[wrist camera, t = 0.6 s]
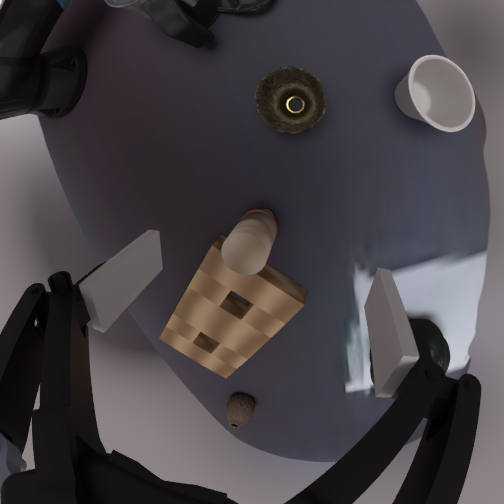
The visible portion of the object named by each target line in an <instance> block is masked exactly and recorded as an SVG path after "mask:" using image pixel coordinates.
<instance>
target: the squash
mask: <svg viewBox="0 0 504 504" xmlns="http://www.w3.org/2000/svg"><path fill="white" fill-rule="evenodd" d="M417 322H418V323H419V324H420V325H421V327H422V329H423V332H424V336H425V338H426V342H427V344H428V347H429V350H430V353H431V356H432V359H433V362H434V363H436V364H438V365H439V366H441V367H442V369H443V370H444V372H445V374H446V371H447V369H448V366H449V363H450V351H449V346H448V343H447V341H446V340H445V338H444V337H443V334H442V333H441V331H440V329H439V328H438V327H437V326H436V325H435V324H434V323H432V322H431V321H429V320H426V319H419V320H417ZM370 362H371V366H370V373H371V379H372V382H373V384H374V386H375V381H374V372H373V363H372V354H371V348H370ZM389 398H392V399H397V398H398V395H397V390H396V392H395V393H394V394H393V395H392V397H389Z"/></svg>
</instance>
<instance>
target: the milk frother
mask: <svg viewBox="0 0 504 504" xmlns="http://www.w3.org/2000/svg"><path fill="white" fill-rule="evenodd" d="M228 1H229V4H230V6H231V7H232V8H226V7H221V0H105V2H106V3H107V4H108V5H109V6H111V7H122V8H125V9H127V10H129V11H132V12H134V13H136V14H139V15H141V16H143V17H145V18H147V19H150V20H152V21H153V22H154V23H155V24H156V26H157V27H158V28H160V29H161V30H162V31H163V32H164V33H165V34H167V35H168V36H170V37H172V38H174V39H177V40H180V41H182V42H184V43H187V44H189V45H192V46H194V47H197V48H201V47H203V46H205V45H207V44H208V43H210V42H212V41H213V40H214V35H213V34H212V32H211V31H209V30H208V29H207V27H208V26H209V25H210V24H212V23H213V21H214V20H215V19H216V18H217V16H218V14H219V12H220V11H224V12H251V11H254V10H257V9H260V8H262V7H264V6H265V5H267V4H268V3H269V2H270V1H271V0H256V1H255V2H252V3H248V4H241V3H238V1H237V0H228Z"/></svg>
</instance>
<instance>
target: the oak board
mask: <svg viewBox="0 0 504 504" xmlns="http://www.w3.org/2000/svg"><path fill="white" fill-rule="evenodd" d="M226 239H227V238H226V237H225V236H223V235H222V234H221V235H220V236H219V238H218V239H217V240H216V241H215V243H214V244H213V245H212V247H211V248H210V250H209V252H208V253H207V255H206V257H205V258H204V260H203V262H202V264H201V265H200V267H199V269H198V270H197V272H196V274H195V276H194V277H193V279H192V281H191V283H190V284H189V286H188V288H187V290H186V291H185V293H184V295H183V297H182V298H181V300H180V302H179V304H178V306H177V307H176V309H175V311H174V313H173V315H172V316H171V318H170V320H169V322H168V324H167V325H166V327H165V329H164V331H163V333H162V335H161V336H160V339H161V340H163V341H164V342H166V343H167V344H169V345H170V346H172V347H174V348H175V349H177V350H178V351H180V352H181V353H183V354H185V355H186V356H188V357H190V358H191V359H193V360H195V361H196V362H198V363H200V364H201V365H203V366H205V367H206V368H208V369H210V370H212V371H213V372H215V373H217V374H219V375H221V376H222V377H224V378H227V377H228V376H229V375H230V374H232V373H233V372H234V371H235V370H236V369H237V368H238V367H240V366H241V365H242V364H243V363H244V362H245V361H246V360H247V359H249V358H250V357H251V356H252V355H253V354H254V353H255V352H256V351H257V350H258V349H260V348H261V347H262V346H263V345H264V344H265V343H266V342H267V341H268V340H269V339H270V338H271V337H272V336H273V335H274V334H276V333H277V332H278V331H279V330H280V329H281V328H282V327H283V326H284V325H285V324H286V323H287V322H288V321H289V320H290V319H291V318H292V317H293V316H294V315H295V314H296V313H297V312H298V311H299V310H300V309H301V308H302V307H303V306H304V305H305V295H306V290H305V289H304V288H302V287H301V286H299V285H298V284H296V283H295V282H293V281H292V280H290V279H289V278H287V277H286V276H284V275H282V274H281V273H279V272H278V271H276V270H275V269H273V268H272V267H270V266H269V265H267V264H265V266H264V267H263V269H262V270H261V271H259V272H258V273H255V274H252V275H242V274H238V273H236V272H234V271H232V270H231V269H230V268H229V267H228V266H227V265H226V264H225V262H224V260H223V258H222V253H221V249H222V245H223V243H224V241H225V240H226ZM231 290H232V291H233V292H235V293H236V294H238V295H240V296H241V297H243V298H244V299H246V300H247V301H249V303H248V305H245V304H244V303H242V302H241V301H239V300H237V299H236V298H234V297H233V296H231V295H229V292H230V291H231Z"/></svg>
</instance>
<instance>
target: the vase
mask: <svg viewBox="0 0 504 504" xmlns="http://www.w3.org/2000/svg"><path fill="white" fill-rule="evenodd" d="M254 409H255V405H254V402H253V400H252V398H251V397H250V396H248V395H246V394H236V395H234V396H232V397H231V398H230V399H229V401H228V403H227V405H226V416H227V418H228V420H229V422H230V426H232V427H234V428H239V427H240V426H241V425H243V424H244V423H246V422H248V421H249V420H250V419H251V417H252V416H253V414H254Z"/></svg>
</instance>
